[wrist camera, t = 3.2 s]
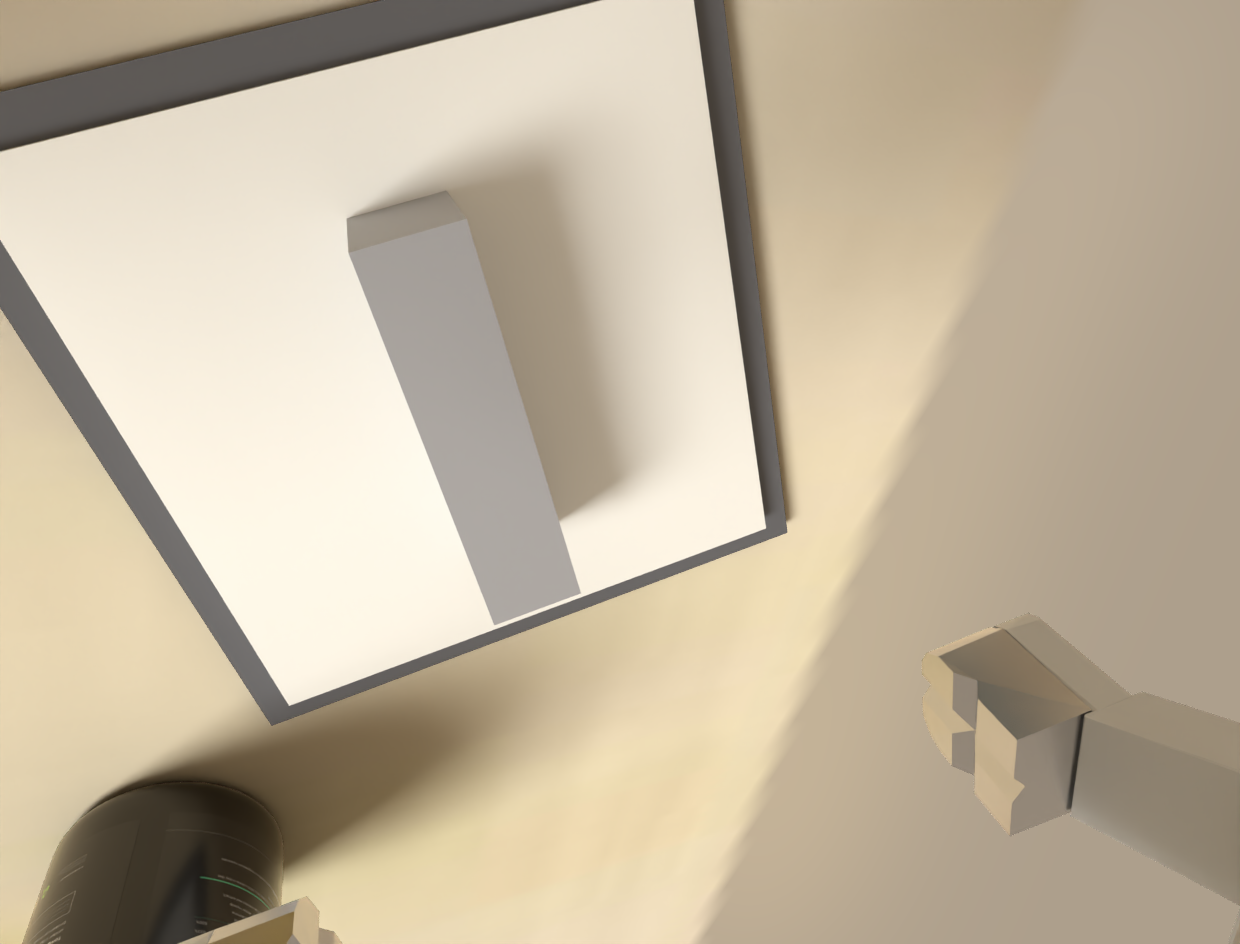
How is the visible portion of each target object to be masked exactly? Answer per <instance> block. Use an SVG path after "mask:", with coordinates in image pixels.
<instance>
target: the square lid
mask: <svg viewBox="0 0 1240 944" xmlns="http://www.w3.org/2000/svg"><path fill="white" fill-rule="evenodd" d="M0 240H1V242H2V244H3V245H4V247H5V248H6V250H7V252H8V253H9V255H10V256H11V258H12V260H13V261H14V263H15V265H16V266H17V268H18V269H19V271H20V273H21V274H22V276H23V277H24V279H25V281H26V282H27V284H28V286H29V287H30V289H31V290H32V292H33V294H34V295H35V297H36V298H37V300H38V302H39V303H40V305H41V306H42V308H43V310H44V311H45V313H46V315H47V316H48V318H49V319H50V321H51V323H52V324H53V326H54V327H55V329H56V331H57V332H58V334H59V336H60V337H61V339H62V340H63V342H64V344H65V345H66V347H67V348H68V350H69V352H70V353H71V355H72V356H73V358H74V360H75V361H76V363H77V365H78V366H79V368H80V369H81V371H82V373H83V374H84V376H85V377H86V379H87V381H88V382H89V384H90V386H91V387H92V389H93V390H94V392H95V394H96V395H97V397H98V398H99V400H100V402H101V403H102V405H103V406H104V408H105V410H106V411H107V413H108V415H109V416H110V418H111V419H112V421H113V423H114V424H115V426H116V427H117V429H118V431H119V432H120V434H121V436H122V437H123V439H124V440H125V442H126V444H127V445H128V447H129V448H130V450H131V452H132V453H133V455H134V456H135V458H136V460H137V461H138V463H139V465H140V466H141V468H142V469H143V471H144V473H145V474H146V476H147V477H148V479H149V481H150V482H151V484H152V486H153V487H154V489H155V490H156V492H157V494H158V495H159V497H160V498H161V500H162V502H163V503H164V505H165V506H166V508H167V510H168V511H169V513H170V515H171V516H172V518H173V519H174V521H175V523H176V524H177V526H178V527H179V529H180V531H181V532H182V534H183V536H184V537H185V539H186V540H187V542H188V544H189V545H190V547H191V548H192V550H193V552H194V553H195V555H196V556H197V558H198V560H199V561H200V563H201V565H202V566H203V568H204V569H205V571H206V573H207V574H208V576H209V577H210V579H211V581H212V582H213V584H214V586H215V587H216V589H217V590H218V592H219V594H220V595H221V597H222V598H223V600H224V602H225V603H226V605H227V607H228V608H229V610H230V611H231V613H232V615H233V616H234V618H235V619H236V621H237V623H238V624H239V626H240V627H241V629H242V631H243V632H244V634H245V636H246V637H247V639H248V640H249V642H250V644H251V645H252V647H253V648H254V650H255V652H256V653H257V655H258V657H259V658H260V660H261V661H262V663H263V665H264V666H265V668H266V669H267V671H268V673H269V674H270V676H271V677H272V679H273V681H274V682H275V684H276V686H277V687H278V689H279V690H280V692H281V694H282V695H283V697H284V698H285V700H286V702H287V703H288V705H289V706H290V705H293V704H296V703H298V702H301V701H304V700H306V699H309V698H312V697H314V696H317V695H320V694H323V693H325V692H328V691H331V690H333V689H336V688H339V687H341V686H344V685H347V684H349V683H352V682H355V681H357V680H360V679H363V678H366V677H368V676H371V675H374V674H376V673H379V672H382V671H384V670H387V669H390V668H392V667H395V666H398V665H400V664H403V663H406V662H409V661H411V660H414V659H417V658H419V657H422V656H425V655H427V654H430V653H433V652H435V651H438V650H441V649H443V648H446V647H449V646H452V645H454V644H457V643H460V642H462V641H465V640H468V639H470V638H473V637H476V636H478V635H481V634H484V633H486V632H489V631H492V630H495V629H497V628H500V627H503V626H505V625H508V624H511V623H513V622H516V621H519V620H521V619H524V618H527V617H529V616H532V615H535V614H538V613H540V612H543V611H546V610H548V609H551V608H554V607H556V606H559V605H562V604H564V603H567V602H570V601H572V600H575V599H578V598H581V597H583V596H586V595H589V594H591V593H594V592H597V591H599V590H602V589H605V588H607V587H610V586H613V585H615V584H618V583H621V582H624V581H626V580H629V579H632V578H634V577H637V576H640V575H642V574H645V573H648V572H650V571H653V570H656V569H658V568H661V567H664V566H667V565H669V564H672V563H675V562H677V561H680V560H683V559H685V558H688V557H691V556H693V555H696V554H699V553H701V552H704V551H707V550H710V549H712V548H715V547H718V546H720V545H723V544H726V543H728V542H731V541H734V540H736V539H739V538H742V537H744V536H747V535H750V534H753V533H755V532H758V531H761V530H763V529H766V524H765V517H764V510H763V503H762V495H761V488H760V481H759V473H758V466H757V459H756V452H755V444H754V437H753V430H752V422H751V415H750V408H749V400H748V393H747V386H746V379H745V371H744V364H743V357H742V349H741V342H740V335H739V327H738V320H737V313H736V306H735V298H734V291H733V284H732V276H731V269H730V262H729V255H728V247H727V240H726V233H725V225H724V218H723V211H722V203H721V196H720V189H719V182H718V174H717V167H716V160H715V152H714V145H713V138H712V130H711V123H710V116H709V109H708V101H707V94H706V87H705V79H704V72H703V65H702V57H701V50H700V43H699V36H698V28H697V21H696V14H695V6H694V0H598V1H594V2H590V3H586V4H582V5H578V6H574V7H570V8H566V9H562V10H558V11H554V12H550V13H547V14H543V15H539V16H535V17H531V18H527V19H523V20H519V21H515V22H511V23H507V24H503V25H499V26H495V27H491V28H487V29H483V30H479V31H475V32H471V33H467V34H463V35H459V36H455V37H451V38H447V39H443V40H439V41H435V42H431V43H427V44H423V45H419V46H415V47H412V48H408V49H404V50H400V51H396V52H392V53H388V54H384V55H380V56H376V57H372V58H368V59H364V60H360V61H356V62H352V63H348V64H344V65H340V66H336V67H332V68H328V69H324V70H320V71H316V72H312V73H308V74H304V75H300V76H296V77H292V78H288V79H284V80H280V81H276V82H273V83H269V84H265V85H261V86H257V87H253V88H249V89H245V90H241V91H237V92H233V93H229V94H225V95H221V96H217V97H213V98H209V99H205V100H201V101H197V102H193V103H189V104H185V105H181V106H177V107H173V108H169V109H165V110H161V111H157V112H153V113H149V114H145V115H141V116H138V117H134V118H130V119H126V120H122V121H118V122H114V123H110V124H106V125H102V126H98V127H94V128H90V129H86V130H82V131H78V132H74V133H70V134H66V135H62V136H58V137H54V138H50V139H46V140H42V141H38V142H34V143H30V144H26V145H22V146H18V147H14V148H10V149H6V150H2V151H0Z"/></svg>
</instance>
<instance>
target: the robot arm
mask: <svg viewBox="0 0 1240 944" xmlns="http://www.w3.org/2000/svg"><path fill="white" fill-rule="evenodd" d="M922 675H923V676H924V677H925V678H926V680H927V681H928V682H929V683H930V684H931V685H930V686H929V688H928V689H927V691H926V693H925V694H924V696H923V697H922V703H923V716H924V719H925V721H926V724H927V727H928V730H929V732H930V735H931V737H932V738H933V740H934V742H935V744H936V745H937V747H938V749H939V750H940V752H941V753H942V754H943V755H944V756H945V758H946V759H947V760H948V762H949V763H950V764H951V765H952V766H953V767H956V768H958V769H961V770H963V771H965V772H967V773H970V774H972V775H974V794H975V795H976V796H977V797H978V798H979V800H980V801H981V802H982V803H983V805H984V806H985V807H986V808H987V809H988V811H989V812H990V813H991V814H992V816H993V817H994V818H995V819H996V820H997V822H998V823H999V824H1000V825H1001V826H1002V828H1003V829H1004V830H1005V831H1006V832H1007V834H1008V835H1009V836H1011V835H1014V834H1016V833H1019V832H1021V831H1024V830H1026V829H1029V828H1032V827H1034V826H1037V825H1039V824H1042V823H1044V822H1046V821H1049V820H1052V819H1054V818H1057V817H1059V816H1062V815H1064V814H1067V813H1069V812H1071V815H1070V816H1071V817H1073V818H1075V819H1077V820H1079V821H1081V822H1082V823H1085V824H1086V825H1088V826H1090V827H1092V828H1094V829H1096V830H1098V831H1099V832H1101V833H1103V834H1105V835H1107V836H1109V837H1111V838H1113V839H1115V840H1116V841H1119V842H1120V843H1122V844H1124V845H1126V846H1128V847H1130V848H1132V849H1133V850H1135V851H1137V852H1139V853H1141V854H1143V855H1145V856H1147V857H1149V858H1150V859H1152V860H1154V861H1156V862H1158V863H1160V864H1162V865H1164V866H1166V867H1167V868H1170V869H1171V870H1173V871H1175V872H1177V873H1179V874H1181V875H1183V876H1185V877H1187V878H1188V879H1190V880H1192V881H1194V882H1196V883H1198V884H1200V885H1202V886H1203V887H1205V888H1207V889H1209V890H1211V891H1213V892H1215V893H1217V894H1219V895H1221V896H1222V897H1224V898H1226V899H1228V900H1230V901H1232V902H1234V903H1236V904H1238V905H1240V723H1239V722H1236V721H1233V720H1230V719H1227V718H1223V717H1220V716H1217V715H1214V714H1211V713H1208V712H1205V711H1202V710H1198V709H1195V708H1192V707H1189V706H1186V705H1183V704H1180V703H1176V702H1174V701H1170V700H1167V699H1164V698H1161V697H1158V696H1155V695H1152V694H1148V693H1146V692H1139V693H1137V694H1134V695H1131V694H1130V693H1129V692H1127V691H1126V690H1125V689H1124V688H1123V687H1121V686H1120V685H1119V684H1118V683H1117V682H1116V681H1114V680H1113V679H1112V678H1111V677H1110V676H1108V675H1107V674H1106V673H1105V672H1104V671H1102V670H1101V669H1100V668H1099V667H1098V666H1096V665H1095V664H1094V663H1093V662H1091V661H1090V660H1089V659H1088V658H1087V657H1086V656H1085V655H1083V654H1082V653H1081V652H1080V651H1078V650H1077V649H1076V648H1075V647H1074V646H1072V645H1071V644H1070V643H1069V642H1068V641H1067V640H1065V639H1064V638H1063V637H1061V635H1059V634H1058V633H1057V632H1056V631H1055V630H1054V629H1052V628H1051V627H1050V626H1049V625H1047V624H1046V623H1045V622H1044V621H1043V620H1041V619H1040V618H1039V617H1037V616H1035V615H1032V614H1030V613H1027V614H1024V615H1021V616H1019V617H1016V618H1014V619H1011V620H1009V621H1006V622H1004V623H1001V624H999V625H996V626H994V627H992V628H991V627H988V628H986V629H984V630H981V631H979V632H976V633H974V634H971V635H969V636H967V637H964V638H961V639H959V640H957V641H954V642H952V643H950V644H947V645H945V646H942V647H939V648H937V649H934V650H932V651H930V652H927V653H926V654H925V656H924V658H923V659H922ZM178 944H342V942H341V941H340V939H339V938H338V936H337V935H336V934H335V932H333V931H329V930H325V929H322V928H319V910H318V909H317V908H316V907H315V905H314V904H313V903H312V902H311V900H310V899H309V898H308V897H307V896H306V897H304V898H301V899H298V900H295V901H293V902H290V903H287V904H284V905H281V906H279V907H276V908H273V909H270V910H268V911H265V912H262V913H259V914H256V915H254V916H251V917H248V918H245V919H243V920H240V921H237V922H234V923H232V924H229V925H226V926H223V927H220V928H218V929H215V930H212V931H210V932H207V933H204V934H202V935H199V936H196V937H194V938H191V939H189V940H186V941H183V942H181V943H178ZM1229 944H1240V909H1239V912H1238V915H1237V918H1236V920H1235V923H1234V926H1233V929H1232V932H1231V935H1230V938H1229Z"/></svg>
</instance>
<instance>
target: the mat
mask: <svg viewBox="0 0 1240 944" xmlns="http://www.w3.org/2000/svg"><path fill="white" fill-rule="evenodd" d="M594 1H598V0H380V1H376V2H372V3H368V4H363V5H359V6H355V7H351V8H347V9H343V10H339V11H334V12H330V13H326V14H322V15H318V16H314V17H309V18H305V19H301V20H297V21H293V22H289V23H285V24H280V25H276V26H272V27H268V28H264V29H260V30H256V31H251V32H247V33H243V34H239V35H235V36H231V37H227V38H222V39H218V40H214V41H210V42H206V43H202V44H198V45H193V46H189V47H185V48H181V49H177V50H173V51H168V52H164V53H160V54H156V55H152V56H148V57H144V58H139V59H135V60H131V61H127V62H123V63H119V64H115V65H110V66H106V67H102V68H98V69H94V70H90V71H86V72H81V73H77V74H73V75H69V76H65V77H61V78H56V79H52V80H48V81H44V82H40V83H36V84H32V85H27V86H23V87H19V88H15V89H11V90H7V91H3V92H0V151H2V150H6V149H10V148H14V147H18V146H22V145H26V144H30V143H34V142H38V141H42V140H46V139H50V138H54V137H58V136H62V135H66V134H70V133H74V132H78V131H82V130H86V129H90V128H94V127H98V126H102V125H106V124H110V123H114V122H118V121H122V120H126V119H130V118H134V117H138V116H141V115H145V114H149V113H153V112H157V111H161V110H165V109H169V108H173V107H177V106H181V105H185V104H189V103H193V102H197V101H201V100H205V99H209V98H213V97H217V96H221V95H225V94H229V93H233V92H237V91H241V90H245V89H249V88H253V87H257V86H261V85H265V84H269V83H273V82H276V81H280V80H284V79H288V78H292V77H296V76H300V75H304V74H308V73H312V72H316V71H320V70H324V69H328V68H332V67H336V66H340V65H344V64H348V63H352V62H356V61H360V60H364V59H368V58H372V57H376V56H380V55H384V54H388V53H392V52H396V51H400V50H404V49H408V48H412V47H415V46H419V45H423V44H427V43H431V42H435V41H439V40H443V39H447V38H451V37H455V36H459V35H463V34H467V33H471V32H475V31H479V30H483V29H487V28H491V27H495V26H499V25H503V24H507V23H511V22H515V21H519V20H523V19H527V18H531V17H535V16H539V15H543V14H547V13H550V12H554V11H558V10H562V9H566V8H570V7H574V6H578V5H582V4H586V3H590V2H594ZM694 6H695V14H696V21H697V28H698V36H699V43H700V50H701V57H702V65H703V72H704V79H705V87H706V94H707V101H708V109H709V116H710V123H711V130H712V138H713V145H714V152H715V160H716V167H717V174H718V182H719V189H720V196H721V203H722V211H723V218H724V225H725V233H726V240H727V247H728V255H729V262H730V269H731V276H732V284H733V291H734V298H735V306H736V313H737V320H738V327H739V335H740V342H741V349H742V357H743V364H744V371H745V379H746V386H747V393H748V400H749V408H750V415H751V422H752V430H753V437H754V444H755V452H756V459H757V466H758V473H759V481H760V488H761V495H762V503H763V510H764V517H765V524H766V529H763V530H761V531H758V532H755V533H753V534H750V535H747V536H744V537H742V538H739V539H736V540H734V541H731V542H728V543H726V544H723V545H720V546H718V547H715V548H712V549H710V550H707V551H704V552H701V553H699V554H696V555H693V556H691V557H688V558H685V559H683V560H680V561H677V562H675V563H672V564H669V565H667V566H664V567H661V568H658V569H656V570H653V571H650V572H648V573H645V574H642V575H640V576H637V577H634V578H632V579H629V580H626V581H624V582H621V583H618V584H615V585H613V586H610V587H607V588H605V589H602V590H599V591H597V592H594V593H591V594H589V595H586V596H583V597H581V598H578V599H575V600H572V601H570V602H567V603H564V604H562V605H559V606H556V607H554V608H551V609H548V610H546V611H543V612H540V613H538V614H535V615H532V616H529V617H527V618H524V619H521V620H519V621H516V622H513V623H511V624H508V625H505V626H503V627H500V628H497V629H495V630H492V631H489V632H486V633H484V634H481V635H478V636H476V637H473V638H470V639H468V640H465V641H462V642H460V643H457V644H454V645H452V646H449V647H446V648H443V649H441V650H438V651H435V652H433V653H430V654H427V655H425V656H422V657H419V658H417V659H414V660H411V661H409V662H406V663H403V664H400V665H398V666H395V667H392V668H390V669H387V670H384V671H382V672H379V673H376V674H374V675H371V676H368V677H366V678H363V679H360V680H357V681H355V682H352V683H349V684H347V685H344V686H341V687H339V688H336V689H333V690H331V691H328V692H325V693H323V694H320V695H317V696H314V697H312V698H309V699H306V700H304V701H301V702H298V703H296V704H293V705H290V706H289V705H288V703H287V702H286V700H285V698H284V697H283V695H282V694H281V692H280V690H279V689H278V687H277V686H276V684H275V682H274V681H273V679H272V677H271V676H270V674H269V673H268V671H267V669H266V668H265V666H264V665H263V663H262V661H261V660H260V658H259V657H258V655H257V653H256V652H255V650H254V648H253V647H252V645H251V644H250V642H249V640H248V639H247V637H246V636H245V634H244V632H243V631H242V629H241V627H240V626H239V624H238V623H237V621H236V619H235V618H234V616H233V615H232V613H231V611H230V610H229V608H228V607H227V605H226V603H225V602H224V600H223V598H222V597H221V595H220V594H219V592H218V590H217V589H216V587H215V586H214V584H213V582H212V581H211V579H210V577H209V576H208V574H207V573H206V571H205V569H204V568H203V566H202V565H201V563H200V561H199V560H198V558H197V556H196V555H195V553H194V552H193V550H192V548H191V547H190V545H189V544H188V542H187V540H186V539H185V537H184V536H183V534H182V532H181V531H180V529H179V527H178V526H177V524H176V523H175V521H174V519H173V518H172V516H171V515H170V513H169V511H168V510H167V508H166V506H165V505H164V503H163V502H162V500H161V498H160V497H159V495H158V494H157V492H156V490H155V489H154V487H153V486H152V484H151V482H150V481H149V479H148V477H147V476H146V474H145V473H144V471H143V469H142V468H141V466H140V465H139V463H138V461H137V460H136V458H135V456H134V455H133V453H132V452H131V450H130V448H129V447H128V445H127V444H126V442H125V440H124V439H123V437H122V436H121V434H120V432H119V431H118V429H117V427H116V426H115V424H114V423H113V421H112V419H111V418H110V416H109V415H108V413H107V411H106V410H105V408H104V406H103V405H102V403H101V402H100V400H99V398H98V397H97V395H96V394H95V392H94V390H93V389H92V387H91V386H90V384H89V382H88V381H87V379H86V377H85V376H84V374H83V373H82V371H81V369H80V368H79V366H78V365H77V363H76V361H75V360H74V358H73V356H72V355H71V353H70V352H69V350H68V348H67V347H66V345H65V344H64V342H63V340H62V339H61V337H60V336H59V334H58V332H57V331H56V329H55V327H54V326H53V324H52V323H51V321H50V319H49V318H48V316H47V315H46V313H45V311H44V310H43V308H42V306H41V305H40V303H39V302H38V300H37V298H36V297H35V295H34V294H33V292H32V290H31V289H30V287H29V286H28V284H27V282H26V281H25V279H24V277H23V276H22V274H21V273H20V271H19V269H18V268H17V266H16V265H15V263H14V261H13V260H12V258H11V256H10V255H9V253H8V252H7V250H6V248H5V247H4V245H3V244H2V242H1V240H0V308H1V310H2V311H3V313H4V314H5V316H6V317H7V319H8V320H9V322H10V323H11V325H12V327H13V328H14V330H15V331H16V333H17V334H18V336H19V337H20V339H21V340H22V342H23V343H24V345H25V347H26V348H27V350H28V351H29V353H30V354H31V356H32V357H33V359H34V360H35V362H36V364H37V365H38V367H39V368H40V370H41V371H42V373H43V374H44V376H45V377H46V379H47V380H48V382H49V384H50V385H51V387H52V388H53V390H54V391H55V393H56V394H57V396H58V397H59V399H60V400H61V402H62V404H63V405H64V407H65V408H66V410H67V411H68V413H69V414H70V416H71V417H72V419H73V421H74V422H75V424H76V425H77V427H78V428H79V430H80V431H81V433H82V434H83V436H84V437H85V439H86V441H87V442H88V444H89V445H90V447H91V448H92V450H93V451H94V453H95V454H96V456H97V457H98V459H99V461H100V462H101V464H102V465H103V467H104V468H105V470H106V471H107V473H108V474H109V476H110V477H111V479H112V481H113V482H114V484H115V485H116V487H117V488H118V490H119V491H120V493H121V494H122V496H123V498H124V499H125V501H126V502H127V504H128V505H129V507H130V508H131V510H132V511H133V513H134V514H135V516H136V518H137V519H138V521H139V522H140V524H141V525H142V527H143V528H144V530H145V531H146V533H147V534H148V536H149V538H150V539H151V541H152V542H153V544H154V545H155V547H156V548H157V550H158V551H159V553H160V555H161V556H162V558H163V559H164V561H165V562H166V564H167V565H168V567H169V568H170V570H171V571H172V573H173V575H174V576H175V578H176V579H177V581H178V582H179V584H180V585H181V587H182V588H183V590H184V591H185V593H186V595H187V596H188V598H189V599H190V601H191V602H192V604H193V605H194V607H195V608H196V610H197V612H198V613H199V615H200V616H201V618H202V619H203V621H204V622H205V624H206V625H207V627H208V628H209V630H210V632H211V633H212V635H213V636H214V638H215V639H216V641H217V642H218V644H219V645H220V647H221V648H222V650H223V652H224V653H225V655H226V656H227V658H228V659H229V661H230V662H231V664H232V665H233V667H234V669H235V670H236V672H237V673H238V675H239V676H240V678H241V679H242V681H243V682H244V684H245V685H246V687H247V689H248V690H249V692H250V693H251V695H252V696H253V698H254V699H255V701H256V702H257V704H258V705H259V707H260V709H261V710H262V712H263V713H264V715H265V716H266V718H267V719H268V721H269V722H270V724H271V726H273V725H275V724H278V723H281V722H283V721H286V720H289V719H291V718H294V717H297V716H299V715H302V714H305V713H307V712H310V711H313V710H315V709H318V708H321V707H323V706H326V705H329V704H331V703H334V702H337V701H339V700H342V699H345V698H347V697H350V696H353V695H355V694H358V693H361V692H363V691H366V690H369V689H371V688H374V687H377V686H379V685H382V684H385V683H387V682H390V681H393V680H395V679H398V678H401V677H403V676H406V675H409V674H411V673H414V672H417V671H419V670H422V669H425V668H427V667H430V666H433V665H435V664H438V663H441V662H443V661H446V660H449V659H451V658H454V657H457V656H459V655H462V654H465V653H467V652H470V651H473V650H475V649H478V648H481V647H483V646H486V645H489V644H491V643H494V642H497V641H499V640H502V639H505V638H507V637H510V636H513V635H515V634H518V633H521V632H524V631H526V630H529V629H532V628H534V627H537V626H540V625H542V624H545V623H548V622H550V621H553V620H556V619H558V618H561V617H564V616H566V615H569V614H572V613H574V612H577V611H580V610H582V609H585V608H588V607H590V606H593V605H596V604H598V603H601V602H604V601H606V600H609V599H612V598H614V597H617V596H620V595H622V594H625V593H628V592H630V591H633V590H636V589H638V588H641V587H644V586H646V585H649V584H652V583H654V582H657V581H660V580H662V579H665V578H668V577H670V576H673V575H676V574H678V573H681V572H684V571H686V570H689V569H692V568H694V567H697V566H700V565H702V564H705V563H708V562H710V561H713V560H716V559H718V558H721V557H724V556H726V555H729V554H732V553H734V552H737V551H740V550H742V549H745V548H748V547H750V546H753V545H756V544H758V543H761V542H764V541H766V540H769V539H772V538H774V537H777V536H780V535H782V534H785V533H787V525H786V517H785V509H784V500H783V492H782V484H781V475H780V467H779V459H778V450H777V442H776V434H775V425H774V417H773V409H772V400H771V392H770V384H769V375H768V367H767V359H766V350H765V342H764V334H763V325H762V317H761V309H760V300H759V292H758V284H757V275H756V267H755V259H754V250H753V242H752V234H751V225H750V217H749V209H748V200H747V192H746V184H745V175H744V167H743V159H742V150H741V142H740V133H739V125H738V117H737V108H736V100H735V92H734V83H733V75H732V67H731V58H730V50H729V42H728V33H727V25H726V17H725V8H724V0H694Z"/></svg>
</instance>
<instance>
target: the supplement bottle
mask: <svg viewBox="0 0 1240 944" xmlns="http://www.w3.org/2000/svg"><path fill="white" fill-rule="evenodd" d="M283 859H284V847H283V838H282V835H281V831H280V828H279V826H278V824H277V822H276V821H275V819H274V818H273V816H272V815H271V814H270V813H269V812H268V810H267V809H266V808H265V807H263V806H262V805H261V804H260V803H259V802H257V801H256V800H254V799H253V798H251V797H250V796H248V795H246V794H244V793H242V792H239V791H237V790H234V789H231V788H228V787H225V786H221V785H217V784H211V783H203V782H169V783H161V784H154V785H150V786H145V787H141V788H138V789H134V790H131V791H128V792H126V793H123V794H120V795H118V796H116V797H114V798H111V799H109V800H108V801H106V802H104V803H102V804H100V805H99V806H97V807H95V808H94V809H92V810H91V811H90V812H88V813H87V814H86V815H84V816H83V817H82V818H81V819H79V820H78V821H77V822H76V823H75V824H74V825H73V826H72V827H71V828H70V830H69V831H68V832H67V833H66V834H65V836H64V837H63V839H62V840H61V842H60V843H59V845H58V847H57V849H56V851H55V853H54V855H53V858H52V860H51V863H50V866H49V869H48V871H47V874H46V877H45V880H44V882H43V885H42V888H41V891H40V893H39V896H38V899H37V902H36V905H35V908H34V911H33V914H32V917H31V919H30V922H29V925H28V928H27V931H26V934H25V937H24V940H23V943H22V944H178V943H181V942H183V941H186V940H189V939H191V938H194V937H196V936H199V935H202V934H204V933H207V932H210V931H212V930H215V929H218V928H220V927H223V926H226V925H229V924H232V923H234V922H237V921H240V920H243V919H245V918H248V917H251V916H254V915H256V914H259V913H262V912H265V911H268V910H270V909H273V908H276V907H279V906H281V899H282V883H283Z"/></svg>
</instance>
